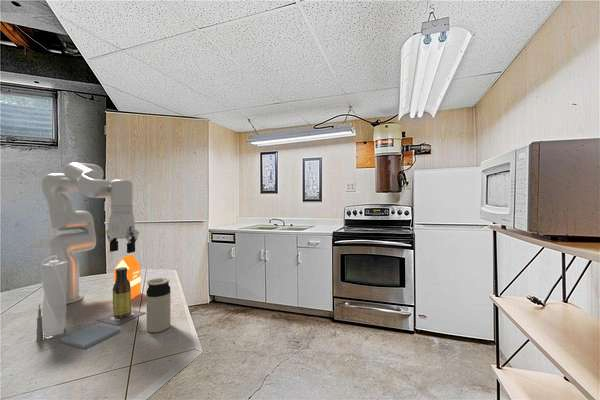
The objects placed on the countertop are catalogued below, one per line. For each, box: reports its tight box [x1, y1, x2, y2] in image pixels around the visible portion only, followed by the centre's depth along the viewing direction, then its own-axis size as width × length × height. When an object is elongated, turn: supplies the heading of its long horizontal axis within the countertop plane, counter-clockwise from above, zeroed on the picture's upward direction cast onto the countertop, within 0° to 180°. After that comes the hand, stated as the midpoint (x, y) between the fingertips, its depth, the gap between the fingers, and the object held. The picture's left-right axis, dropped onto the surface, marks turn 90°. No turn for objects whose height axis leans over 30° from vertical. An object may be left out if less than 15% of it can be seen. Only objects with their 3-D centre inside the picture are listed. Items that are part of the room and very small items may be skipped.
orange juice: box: [113, 253, 142, 300], centre depth 133 cm, size 8×9×20 cm
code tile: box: [96, 309, 147, 326], centre depth 111 cm, size 12×12×1 cm
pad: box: [60, 323, 121, 350], centre depth 95 cm, size 12×12×1 cm
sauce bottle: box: [112, 267, 132, 318], centre depth 111 cm, size 6×6×20 cm
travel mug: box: [146, 277, 171, 334], centre depth 101 cm, size 8×8×18 cm
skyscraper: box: [35, 255, 68, 343], centre depth 97 cm, size 8×8×28 cm
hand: (122, 251), depth 110 cm, fingers open, 9 cm apart
